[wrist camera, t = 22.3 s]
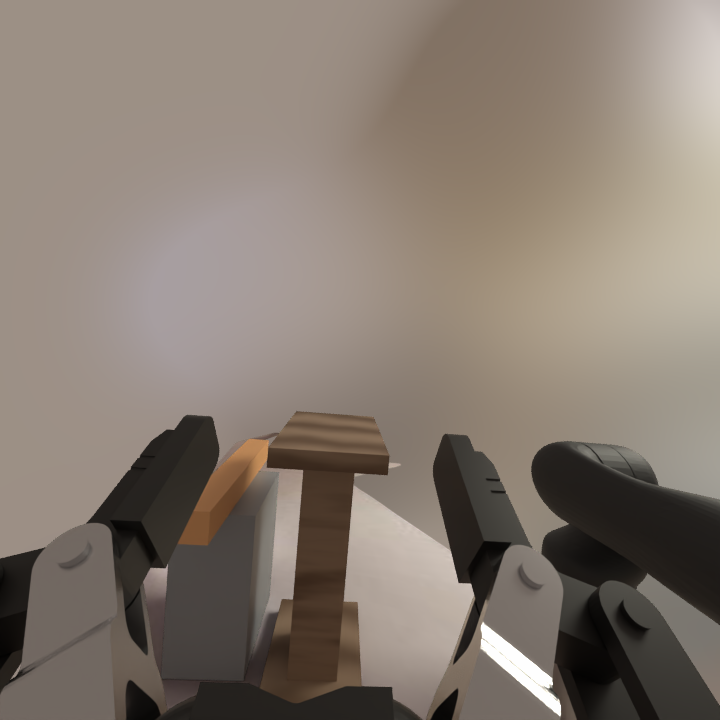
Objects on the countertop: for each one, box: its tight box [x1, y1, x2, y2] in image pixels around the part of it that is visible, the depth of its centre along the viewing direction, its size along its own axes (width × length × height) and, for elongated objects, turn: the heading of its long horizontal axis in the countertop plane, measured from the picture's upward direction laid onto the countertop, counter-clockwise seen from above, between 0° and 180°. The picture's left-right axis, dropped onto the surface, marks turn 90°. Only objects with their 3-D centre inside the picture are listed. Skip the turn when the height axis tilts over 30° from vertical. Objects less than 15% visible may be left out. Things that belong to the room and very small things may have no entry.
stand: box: [260, 412, 389, 703], centre depth 39 cm, size 17×12×32 cm
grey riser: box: [161, 468, 279, 681], centre depth 43 cm, size 13×10×21 cm
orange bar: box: [178, 439, 268, 545], centre depth 43 cm, size 24×4×4 cm, turn 3°
